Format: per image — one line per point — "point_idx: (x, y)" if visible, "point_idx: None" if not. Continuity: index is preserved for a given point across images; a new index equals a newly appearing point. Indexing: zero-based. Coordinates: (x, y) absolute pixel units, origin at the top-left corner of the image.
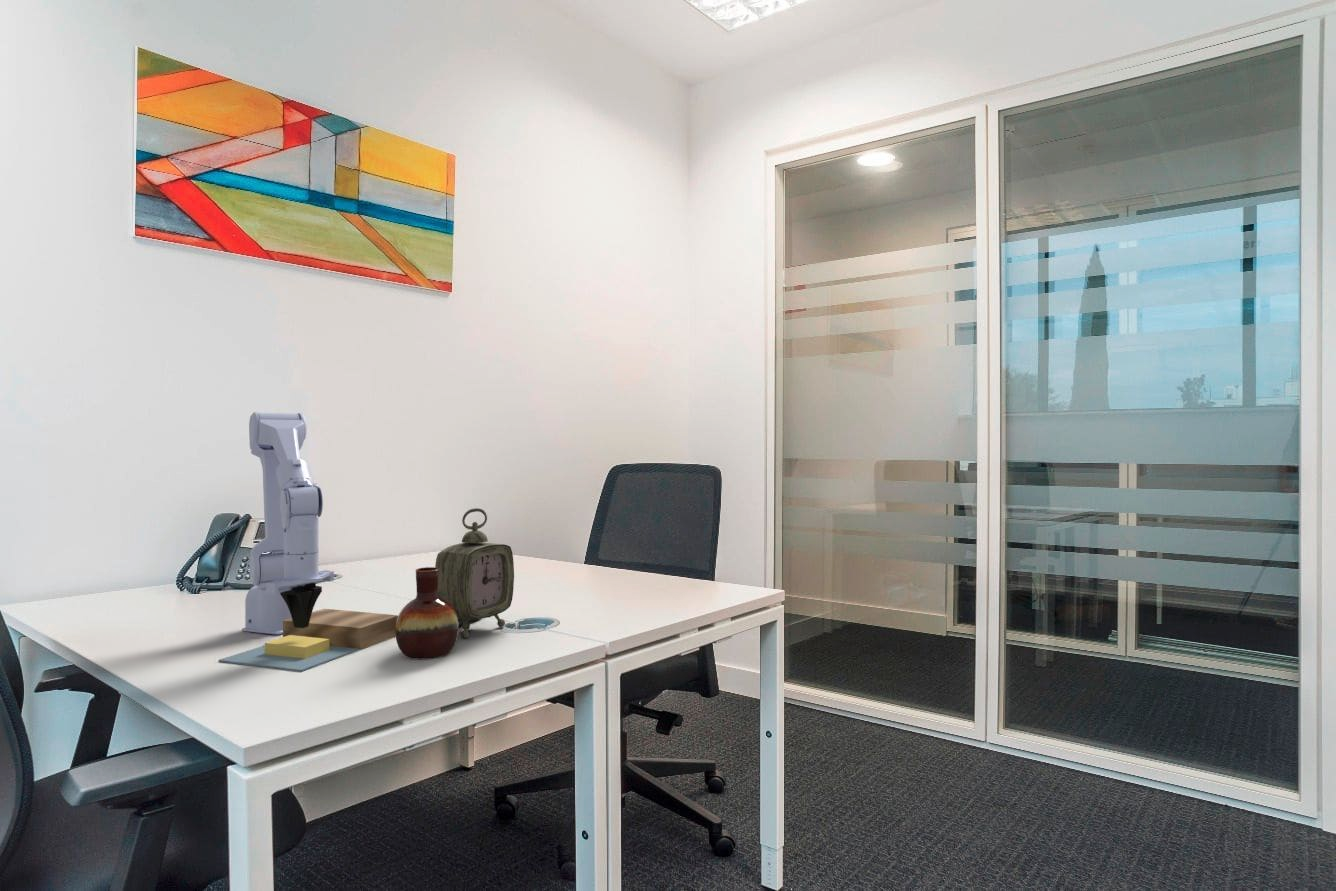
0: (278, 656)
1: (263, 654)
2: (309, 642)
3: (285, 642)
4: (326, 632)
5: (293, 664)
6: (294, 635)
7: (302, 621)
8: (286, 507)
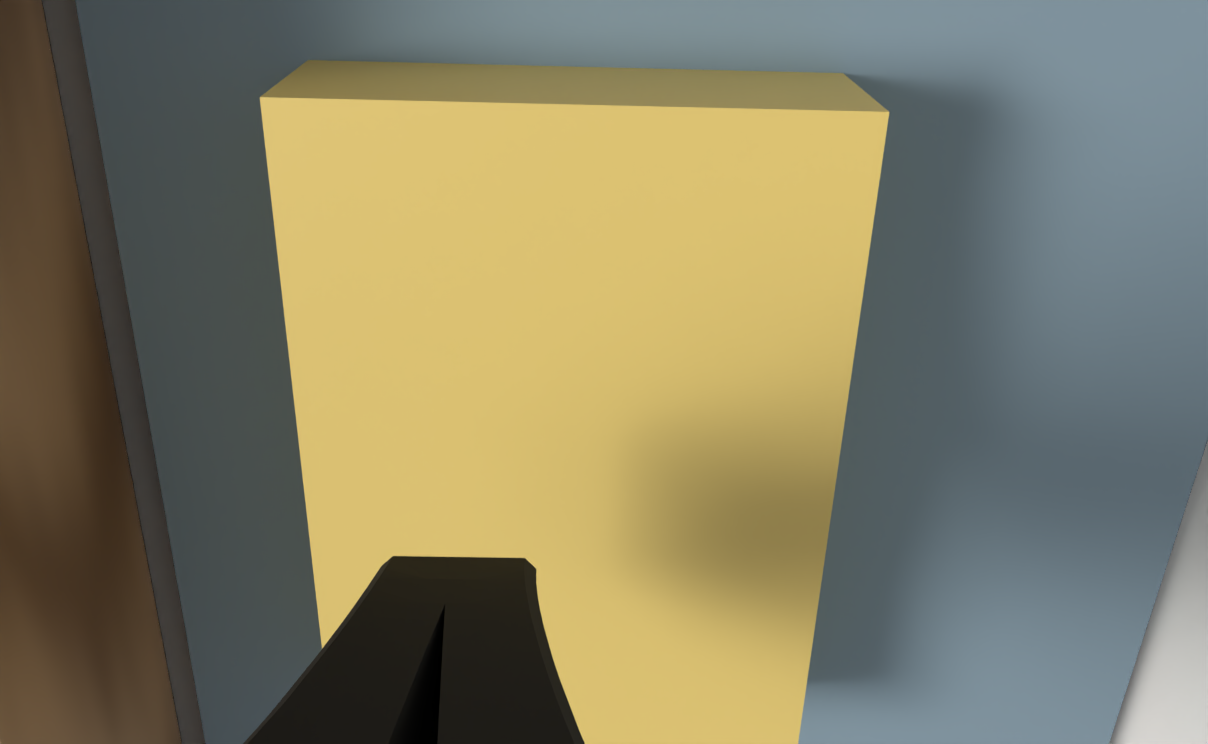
0: None
1: None
2: (584, 272)
3: (695, 592)
4: (1, 412)
5: (1163, 14)
6: None
7: (545, 647)
8: None
